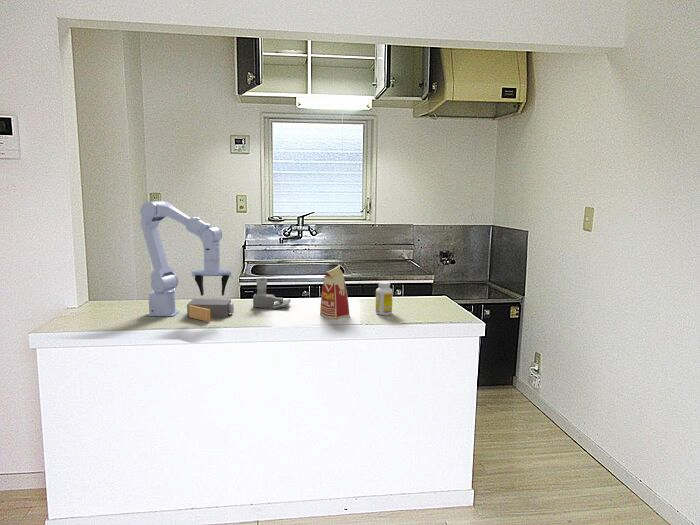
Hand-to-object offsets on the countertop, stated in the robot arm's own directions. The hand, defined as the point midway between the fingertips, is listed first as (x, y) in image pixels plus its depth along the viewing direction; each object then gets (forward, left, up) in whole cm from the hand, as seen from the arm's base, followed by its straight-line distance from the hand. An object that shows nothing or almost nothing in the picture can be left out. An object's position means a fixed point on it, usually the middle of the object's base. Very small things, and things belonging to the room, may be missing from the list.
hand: (212, 295), depth 201 cm
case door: (-5, -2, -9) cm, 11 cm away
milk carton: (+46, +6, -10) cm, 48 cm away
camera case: (-3, +7, -9) cm, 12 cm away
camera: (+20, +19, -10) cm, 29 cm away
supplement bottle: (+66, +10, -10) cm, 68 cm away
